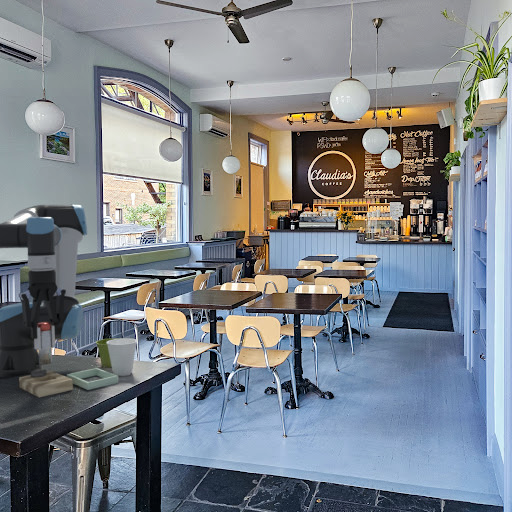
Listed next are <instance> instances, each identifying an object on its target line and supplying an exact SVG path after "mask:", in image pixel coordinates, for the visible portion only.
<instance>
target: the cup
mask: <svg viewBox="0 0 512 512" xmlns="http://www.w3.org/2000/svg"><path fill="white" fill-rule="evenodd" d="M112 339H113V338H112ZM137 342H138V340H137V339H135V338H126V337H124V338H121V337H120V338H116V339H113V340H109V341H107V342H106V343H107V345H108V350H109V355H110V360H111V365H112V366H111V369H112V374H115V375H118V377H126V375H127V376H130V375H131V374H133V369H134V360H135V355H136V354H135V353H136V348H137Z"/></svg>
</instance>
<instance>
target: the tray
mask: <svg viewBox="0 0 512 512" xmlns="http://www.w3.org/2000/svg"><path fill="white" fill-rule="evenodd" d="M95 376H98V377H100V379H96V380H91V381H87V380H85V379H86V378H91V377H95ZM66 377H68V378H70V379H73V385H75V386H78V387H80V388H83V389H85V390H87V391H89V390H93V389H94V390H95V389H98V388H101V387H106V386H109V385H114V384H118V383H119V376H118V375H115V374H113V372H109V371H107V370H103V369H101V368H98V367H95V368H90V369H86V370H81V371H76V372H71V373H67V374H66Z"/></svg>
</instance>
